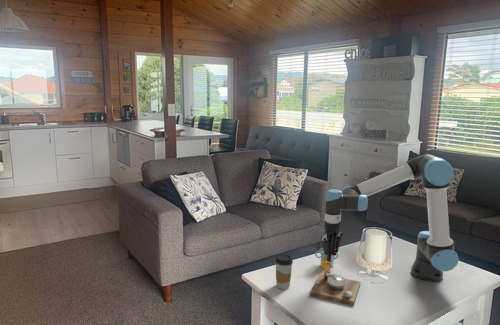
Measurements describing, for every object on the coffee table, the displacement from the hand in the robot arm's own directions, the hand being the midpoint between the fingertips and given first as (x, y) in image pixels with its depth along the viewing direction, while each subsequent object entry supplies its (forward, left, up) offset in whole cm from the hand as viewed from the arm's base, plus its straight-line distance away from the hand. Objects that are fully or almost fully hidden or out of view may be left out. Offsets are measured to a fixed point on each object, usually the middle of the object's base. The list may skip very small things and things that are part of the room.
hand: (330, 267), depth 191 cm
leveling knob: (-3, +5, -6) cm, 8 cm away
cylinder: (+5, -17, -8) cm, 19 cm away
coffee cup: (+19, +14, -8) cm, 25 cm away
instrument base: (-5, +7, -8) cm, 12 cm away
